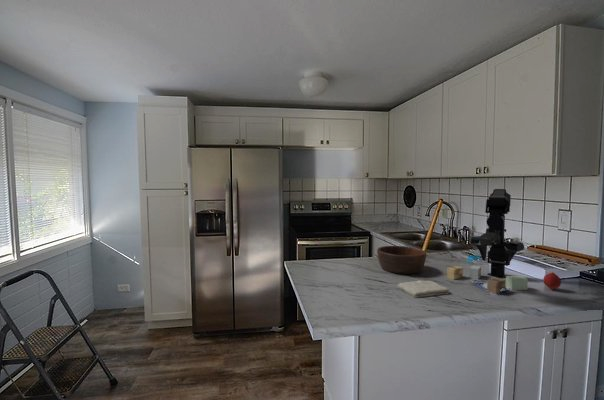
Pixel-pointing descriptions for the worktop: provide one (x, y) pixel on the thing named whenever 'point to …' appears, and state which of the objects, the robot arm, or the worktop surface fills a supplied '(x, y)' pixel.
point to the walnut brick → (495, 285)
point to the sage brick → (516, 282)
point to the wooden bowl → (401, 259)
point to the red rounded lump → (552, 280)
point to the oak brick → (455, 272)
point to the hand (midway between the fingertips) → (495, 263)
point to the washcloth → (422, 288)
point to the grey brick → (475, 272)
